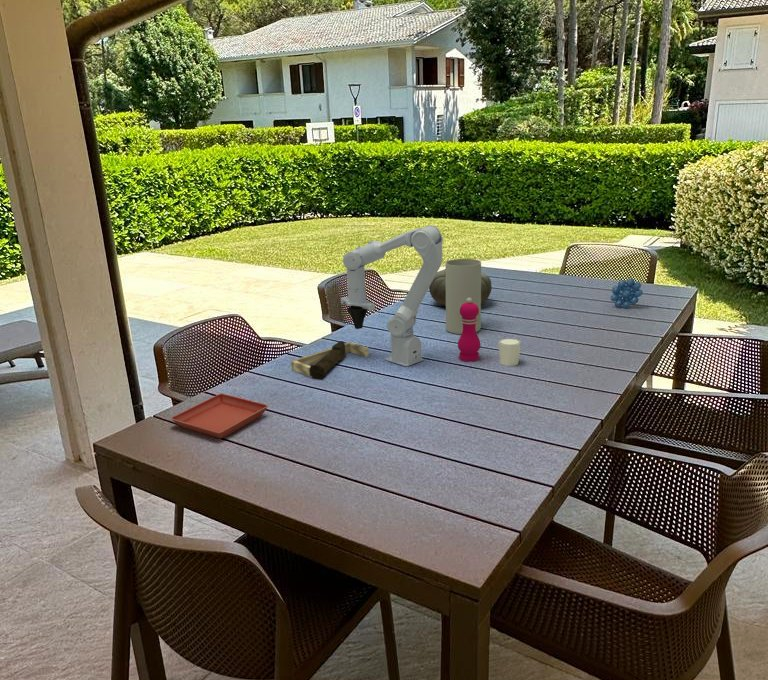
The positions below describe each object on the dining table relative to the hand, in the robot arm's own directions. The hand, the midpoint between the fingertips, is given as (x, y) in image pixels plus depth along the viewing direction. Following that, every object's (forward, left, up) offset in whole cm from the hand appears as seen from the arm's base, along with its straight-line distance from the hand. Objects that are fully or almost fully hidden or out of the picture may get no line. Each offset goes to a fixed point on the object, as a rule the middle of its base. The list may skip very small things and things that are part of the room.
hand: (358, 328), depth 212 cm
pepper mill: (-29, -21, -10) cm, 37 cm away
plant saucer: (-11, +58, -10) cm, 60 cm away
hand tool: (0, +13, -10) cm, 16 cm away
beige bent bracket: (+1, +11, -9) cm, 15 cm away
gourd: (+15, -69, -10) cm, 71 cm away
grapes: (-38, -106, -10) cm, 113 cm away
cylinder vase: (-8, -43, -10) cm, 45 cm away
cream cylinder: (-41, -26, -10) cm, 49 cm away
